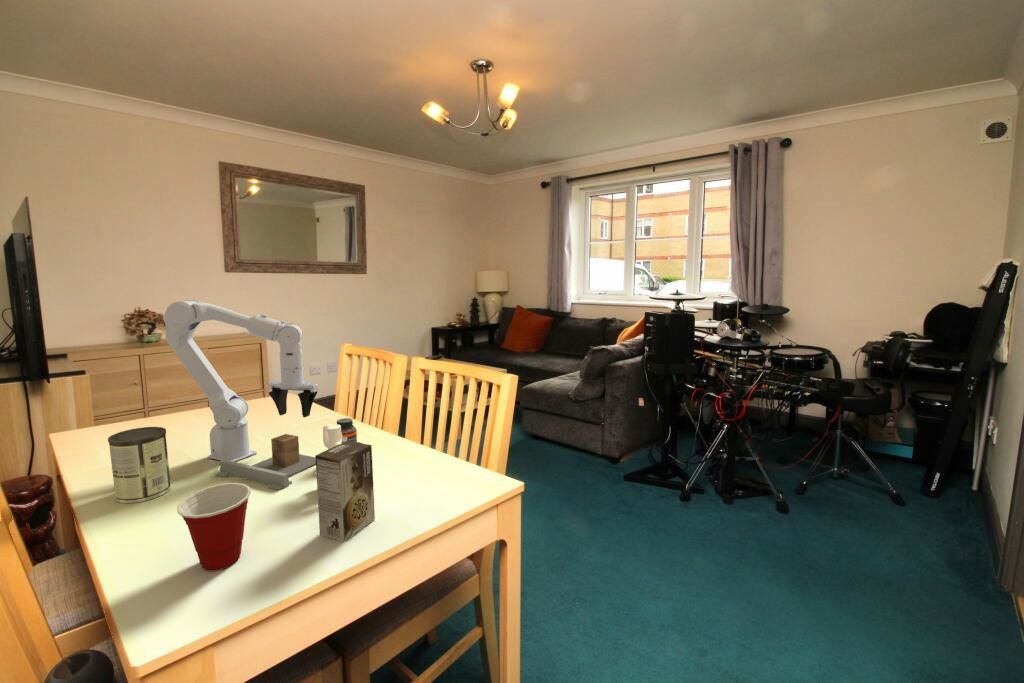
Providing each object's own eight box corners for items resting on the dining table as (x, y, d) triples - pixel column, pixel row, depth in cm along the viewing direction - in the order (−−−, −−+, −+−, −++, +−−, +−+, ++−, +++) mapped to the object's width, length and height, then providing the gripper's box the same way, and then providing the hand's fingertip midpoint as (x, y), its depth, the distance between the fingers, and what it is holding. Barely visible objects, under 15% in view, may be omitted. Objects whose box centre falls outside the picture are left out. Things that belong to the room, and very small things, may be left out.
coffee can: (131, 485, 113) (126, 427, 111) (180, 482, 115) (175, 425, 113) (103, 505, 103) (95, 442, 101) (156, 501, 105) (150, 439, 103)
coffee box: (350, 514, 100) (347, 439, 98) (375, 520, 98) (373, 443, 96) (317, 535, 92) (313, 454, 90) (344, 542, 89) (340, 459, 87)
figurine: (329, 499, 106) (326, 434, 105) (313, 485, 113) (310, 424, 111) (360, 490, 111) (358, 427, 109) (343, 477, 118) (341, 418, 116)
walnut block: (272, 465, 125) (271, 439, 124) (287, 459, 129) (285, 433, 128) (285, 467, 123) (283, 441, 122) (299, 461, 127) (298, 436, 126)
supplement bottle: (350, 465, 126) (348, 424, 124) (329, 464, 127) (327, 422, 125) (361, 457, 131) (360, 417, 130) (342, 455, 133) (340, 416, 131)
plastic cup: (166, 572, 80) (160, 504, 78) (225, 539, 90) (221, 479, 88) (213, 587, 76) (207, 516, 74) (269, 551, 86) (265, 488, 84)
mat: (248, 468, 123) (248, 466, 123) (286, 453, 134) (286, 451, 134) (288, 477, 118) (288, 475, 118) (324, 461, 129) (324, 459, 129)
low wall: (215, 474, 119) (214, 463, 119) (230, 469, 123) (229, 457, 123) (279, 490, 111) (278, 478, 110) (293, 483, 114) (292, 471, 114)
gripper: (258, 369, 131) (262, 417, 133) (305, 371, 127) (307, 421, 129) (277, 364, 138) (279, 410, 139) (321, 367, 134) (323, 414, 136)
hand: (294, 415), depth 135 cm, fingers open, 7 cm apart
